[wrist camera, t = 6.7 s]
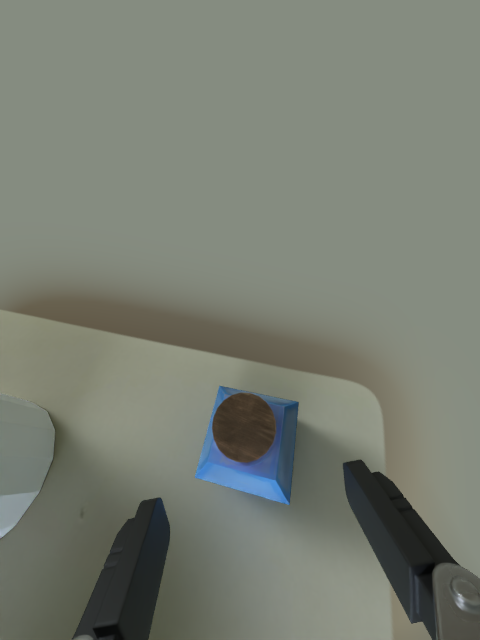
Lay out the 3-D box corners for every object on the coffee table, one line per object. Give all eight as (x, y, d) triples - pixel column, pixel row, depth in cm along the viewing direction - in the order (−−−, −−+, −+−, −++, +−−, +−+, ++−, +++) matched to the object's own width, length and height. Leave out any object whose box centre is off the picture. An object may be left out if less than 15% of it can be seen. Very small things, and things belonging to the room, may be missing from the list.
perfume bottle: (212, 474, 20) (161, 482, 10) (229, 403, 24) (203, 356, 13) (282, 494, 19) (303, 525, 9) (290, 417, 22) (312, 376, 12)
